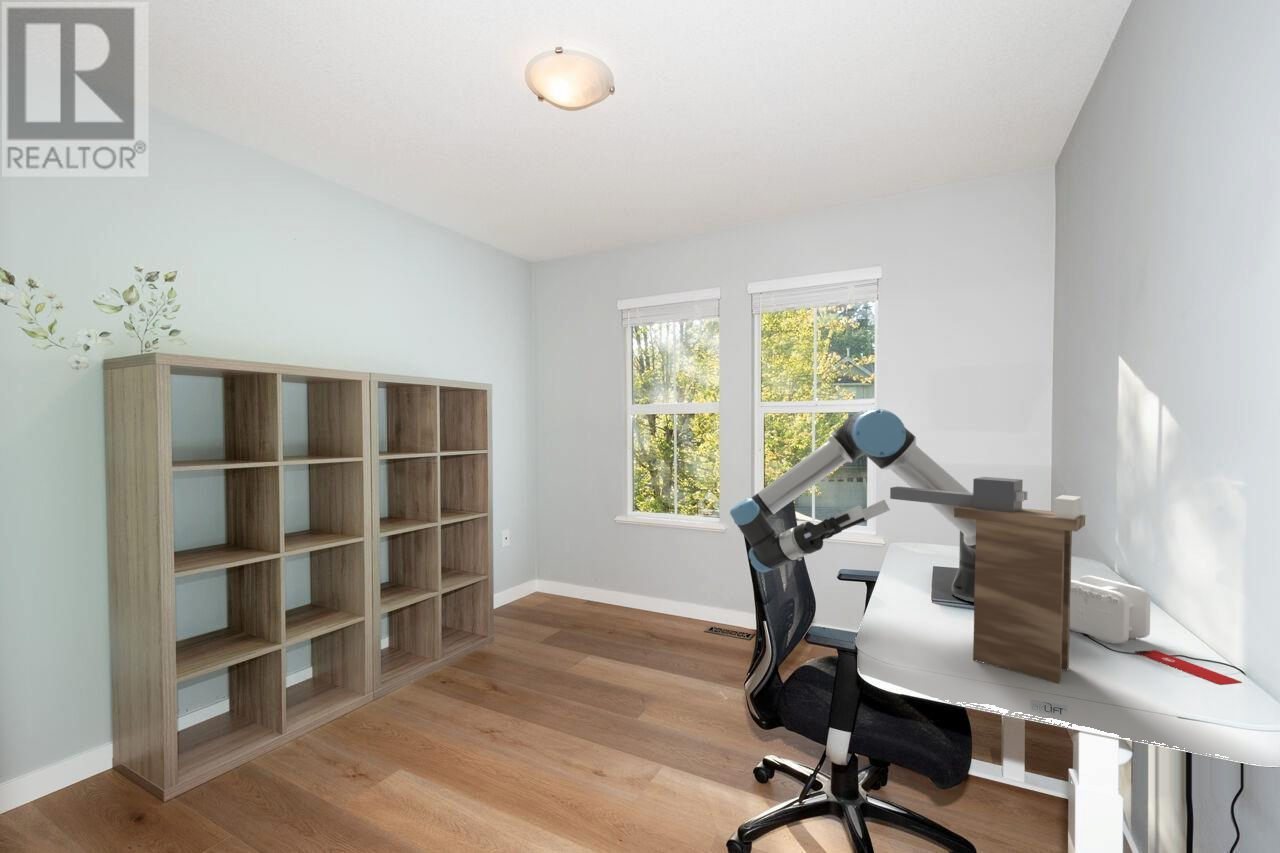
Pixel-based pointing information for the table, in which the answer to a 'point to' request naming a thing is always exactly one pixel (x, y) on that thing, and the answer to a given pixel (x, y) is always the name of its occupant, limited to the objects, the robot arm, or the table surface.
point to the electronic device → (1188, 667)
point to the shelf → (1022, 589)
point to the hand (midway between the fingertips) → (875, 507)
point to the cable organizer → (1109, 609)
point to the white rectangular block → (1067, 507)
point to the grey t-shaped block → (971, 495)
